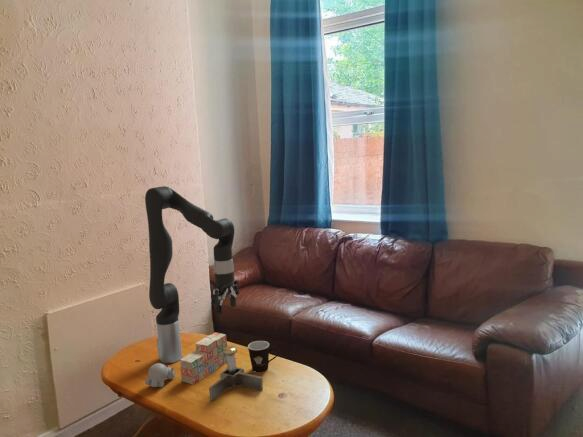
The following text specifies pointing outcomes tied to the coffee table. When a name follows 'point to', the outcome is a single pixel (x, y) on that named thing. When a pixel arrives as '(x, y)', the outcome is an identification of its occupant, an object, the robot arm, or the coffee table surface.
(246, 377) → the hinge leaves
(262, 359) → the coffee mug
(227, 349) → the hinge pin
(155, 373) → the chubby cartoon animal
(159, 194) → the robot arm
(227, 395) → the coffee table surface
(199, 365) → the stack of blocks
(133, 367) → the coffee table surface
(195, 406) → the coffee table surface
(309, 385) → the coffee table surface
